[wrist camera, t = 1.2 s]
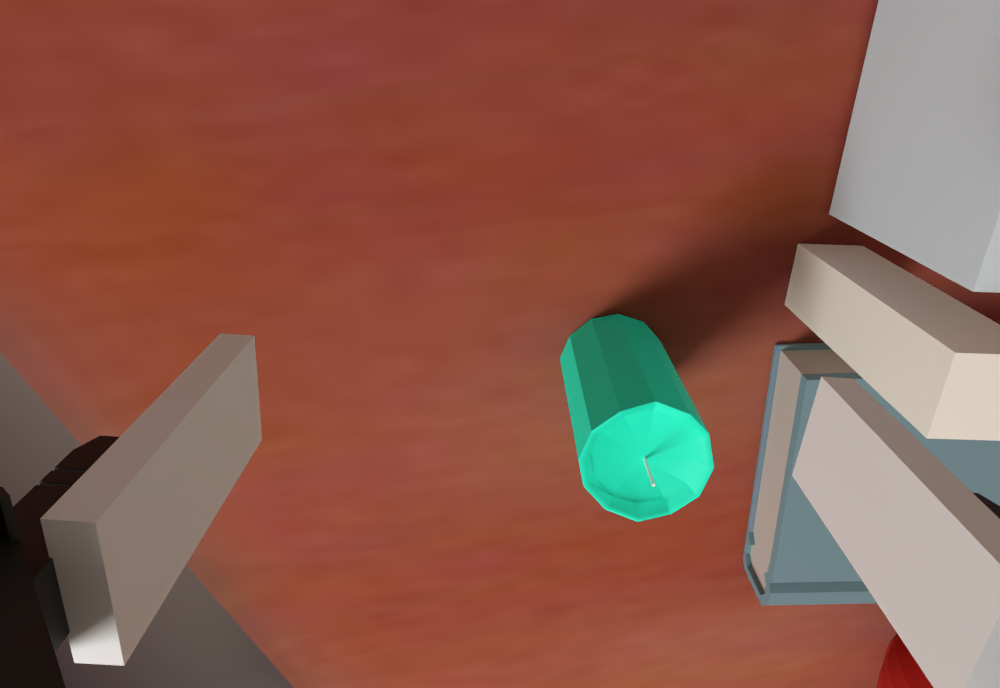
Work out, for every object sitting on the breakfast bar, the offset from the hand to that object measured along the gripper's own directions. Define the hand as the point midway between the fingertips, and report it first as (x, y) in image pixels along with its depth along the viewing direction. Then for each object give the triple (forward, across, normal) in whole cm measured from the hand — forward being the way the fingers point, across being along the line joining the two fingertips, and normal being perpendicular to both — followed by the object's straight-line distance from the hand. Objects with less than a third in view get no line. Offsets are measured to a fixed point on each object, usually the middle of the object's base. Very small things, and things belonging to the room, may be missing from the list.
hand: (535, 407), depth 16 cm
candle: (+22, +6, -9) cm, 24 cm away
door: (+21, +17, +9) cm, 29 cm away
